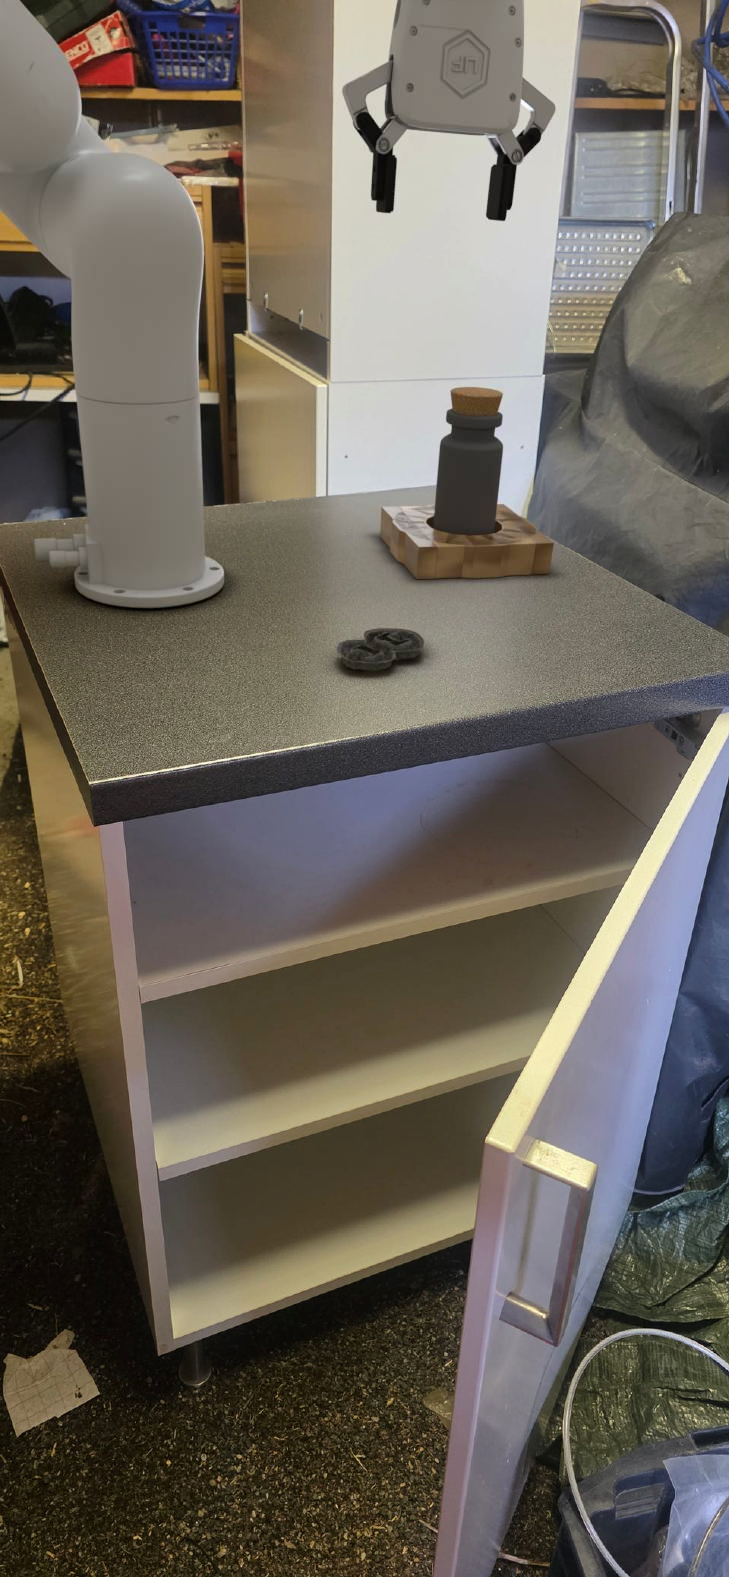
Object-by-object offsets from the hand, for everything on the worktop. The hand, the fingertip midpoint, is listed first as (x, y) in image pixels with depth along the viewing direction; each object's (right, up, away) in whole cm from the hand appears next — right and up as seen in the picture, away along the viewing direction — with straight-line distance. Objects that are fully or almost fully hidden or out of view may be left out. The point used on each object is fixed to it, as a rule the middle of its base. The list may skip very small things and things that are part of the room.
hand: (440, 216), depth 85 cm
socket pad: (+3, -25, +15) cm, 29 cm away
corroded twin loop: (-5, -38, -8) cm, 39 cm away
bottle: (+3, -25, +15) cm, 29 cm away
